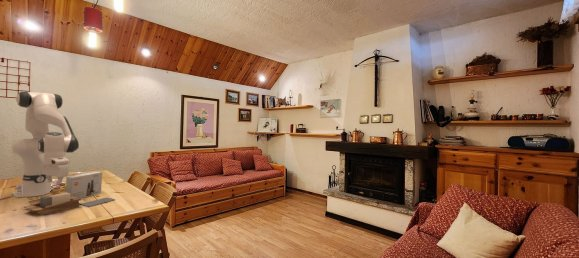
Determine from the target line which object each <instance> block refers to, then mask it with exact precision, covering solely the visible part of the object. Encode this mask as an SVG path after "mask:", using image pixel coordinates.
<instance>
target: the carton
mask: <svg viewBox="0 0 579 258" xmlns="http://www.w3.org/2000/svg"><path fill="white" fill-rule="evenodd" d="M84 200H85V199H84V198H77V197H73V196H72V197H70V201H68V202H63V203H59V204H55V205H50V206H46V207H45V208H40V198H37V199H33V200H29V201H28V204H29V205H26V206H23V208H24V209H28V210H30V212H32V213H35V214H38V215H41V216H46V215H50V214H54V213H58V212H61V211H65V210H70V209H73V208H77V207H79V206H80V201H84Z"/></svg>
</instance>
